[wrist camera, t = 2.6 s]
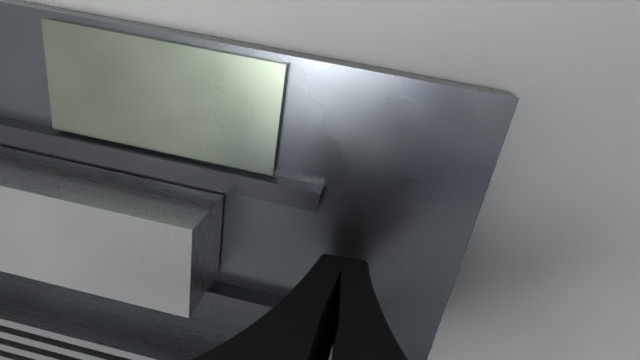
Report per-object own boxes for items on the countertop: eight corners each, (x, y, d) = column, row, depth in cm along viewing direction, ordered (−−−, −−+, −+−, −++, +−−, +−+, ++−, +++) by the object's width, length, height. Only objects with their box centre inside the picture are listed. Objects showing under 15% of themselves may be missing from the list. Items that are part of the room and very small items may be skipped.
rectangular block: (223, 195, 13) (192, 229, 11) (217, 274, 14) (189, 318, 12) (-64, 132, 14) (-142, 152, 12) (-47, 210, 15) (-115, 242, 13)
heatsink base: (509, 91, 11) (575, 139, 7) (405, 395, 16) (409, 530, 12) (-264, -53, 14) (-553, -79, 10) (-155, 252, 19) (-316, 324, 14)
